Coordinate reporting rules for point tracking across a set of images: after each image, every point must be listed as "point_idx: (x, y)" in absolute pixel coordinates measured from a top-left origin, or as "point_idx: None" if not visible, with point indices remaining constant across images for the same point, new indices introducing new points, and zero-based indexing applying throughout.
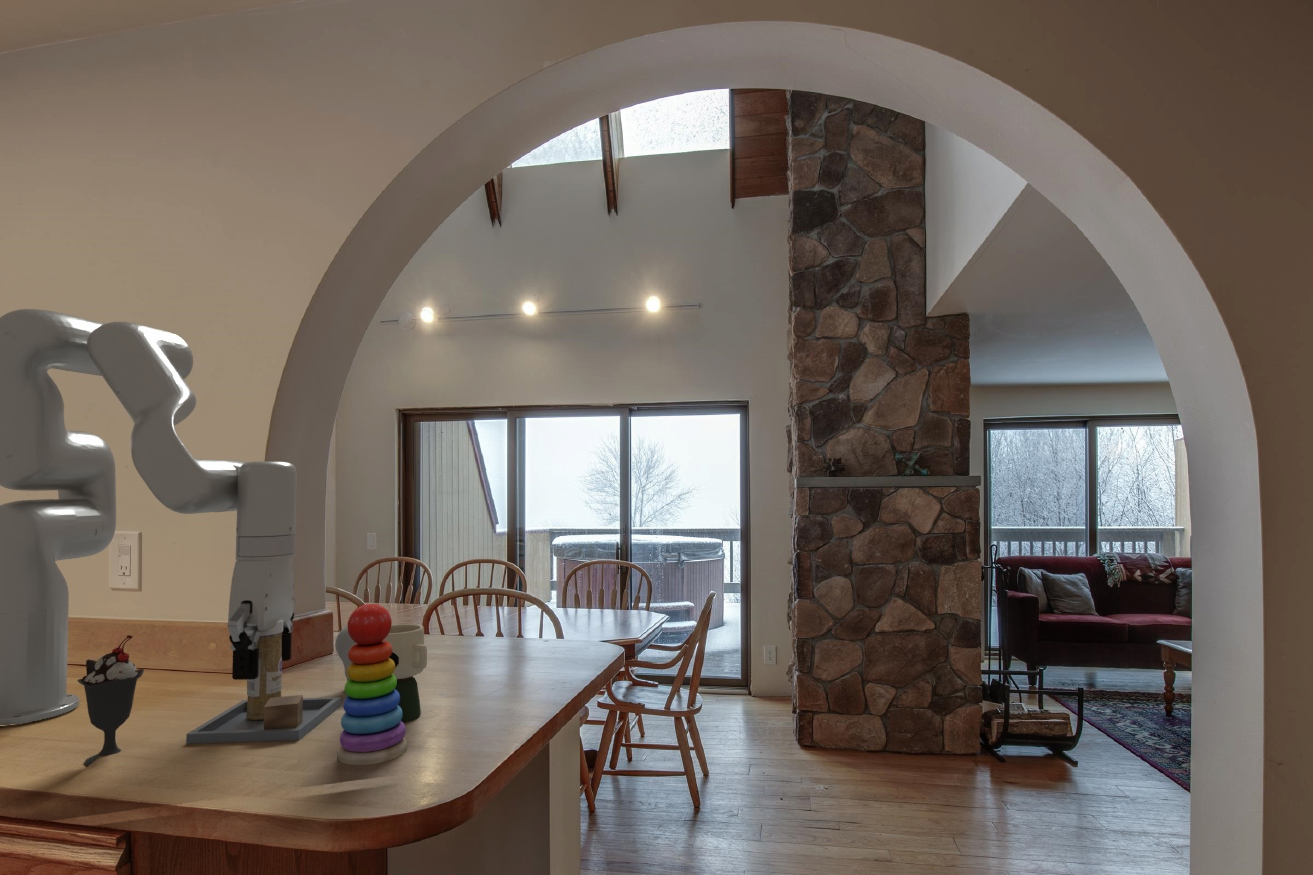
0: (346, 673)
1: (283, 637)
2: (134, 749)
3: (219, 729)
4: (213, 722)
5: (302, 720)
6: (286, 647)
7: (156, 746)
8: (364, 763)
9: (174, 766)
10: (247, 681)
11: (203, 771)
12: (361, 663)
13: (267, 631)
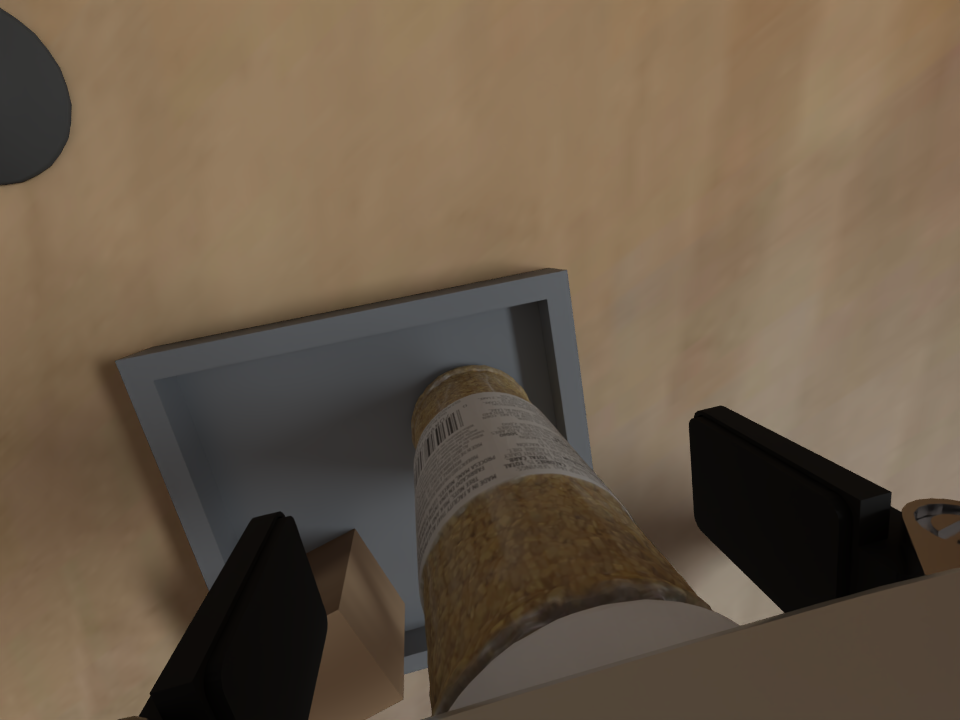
0: None
1: (812, 603)
2: (100, 120)
3: (308, 361)
4: (285, 352)
5: (404, 614)
6: (747, 568)
7: (155, 192)
8: None
9: (7, 427)
10: (436, 445)
11: (6, 551)
12: None
13: None
